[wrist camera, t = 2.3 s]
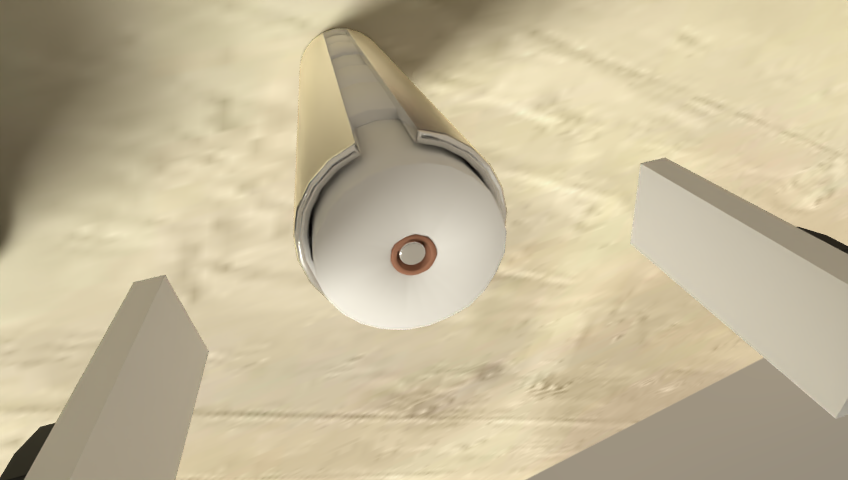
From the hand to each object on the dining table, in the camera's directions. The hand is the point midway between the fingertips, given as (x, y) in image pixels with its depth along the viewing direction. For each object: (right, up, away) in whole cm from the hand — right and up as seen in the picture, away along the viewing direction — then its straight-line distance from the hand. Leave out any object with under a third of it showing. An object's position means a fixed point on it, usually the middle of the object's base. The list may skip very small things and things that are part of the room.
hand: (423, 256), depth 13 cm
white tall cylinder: (-6, +13, +21) cm, 25 cm away
